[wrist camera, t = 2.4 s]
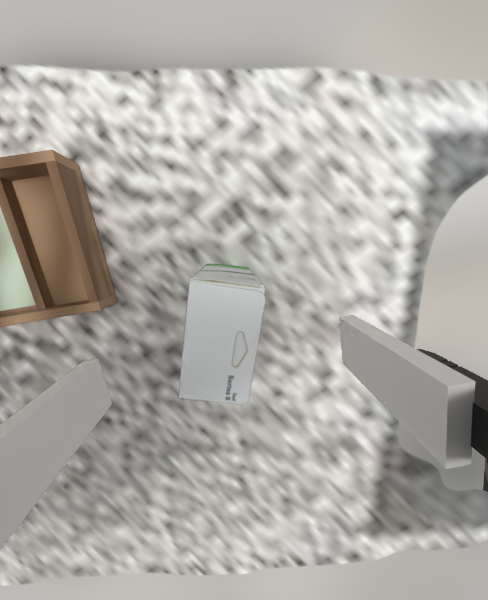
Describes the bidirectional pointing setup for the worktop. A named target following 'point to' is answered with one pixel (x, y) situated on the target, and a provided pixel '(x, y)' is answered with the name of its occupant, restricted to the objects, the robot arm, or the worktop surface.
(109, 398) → the robot arm
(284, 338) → the worktop surface
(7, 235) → the tray
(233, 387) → the ink box
